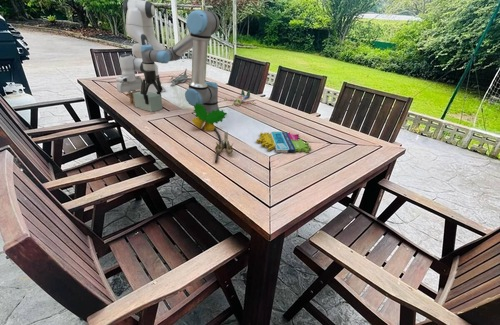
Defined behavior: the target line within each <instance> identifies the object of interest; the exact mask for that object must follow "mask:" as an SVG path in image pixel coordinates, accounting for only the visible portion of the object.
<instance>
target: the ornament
mask: <svg viewBox="0 0 500 325" xmlns="http://www.w3.org/2000/svg"><path fill="white" fill-rule="evenodd" d="M219 110H220V108H219V109H217V110H216V111H214V110H212V112H211V113H208V112H206V109H204V106H201V104H198V103H197V102H196V106H193V112H194V113H195V118H192V119H191V122H192V123H193V125H195V127H197V128H198V129H202V130H203V131H206V132H212V131H213V132H214V131H215V130H214V128H215V129H216V126H215V124H218V123H219V122H223V119H226V115H227V114H228V113H227V112H224V110H223V109H221V110H220V111H219ZM207 113H208V115H207ZM214 123H215V124H214Z"/></svg>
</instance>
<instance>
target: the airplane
mask: <svg viewBox="0 0 500 325" xmlns="http://www.w3.org/2000/svg"><path fill="white" fill-rule="evenodd" d="M169 77H170V80H173V79H174V80H173V81H172V82H171V83H170V87H171V86H172V87H173V86H175V85H177V84H180V83H181V84H183V83H185V82H186V81H188V82H191V80H192V77H191V75H188V74H187V68H185V70H184V72H183V74H179V76H175V75H174V76H173V75H168V78H169Z"/></svg>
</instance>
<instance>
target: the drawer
mask: <svg viewBox="0 0 500 325" xmlns="http://www.w3.org/2000/svg"><path fill="white" fill-rule="evenodd" d="M136 92H141V90H135V92H132V91H131V92H130V93H129V94H128V93H126V94H125V95H126V96H129V100H130V105H135V101H134V94H133V93H136Z"/></svg>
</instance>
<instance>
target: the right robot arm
mask: <svg viewBox="0 0 500 325" xmlns="http://www.w3.org/2000/svg"><path fill="white" fill-rule="evenodd" d="M220 24H221V22H220V19H219V17H218V15H217V14H216V12H213V11H211V10H201V9H197V10H193V11H191V12H190V13H189V14H188V15H187V16H186V28H187V29H188V31H189V33H188V34H187V35H185V36H184V37H183V38H181V39H179V41H178V42H176V43H175V44H174V45H173V46H172V47H171V48H167V49H166V48H165V50H154V49H153V46H151V45H142V46H141V54H142V61H143V69H144V73H143V76H145V77H144V79H143V78H141V89H140V92H141V93H140V94H142V95H143V96H144V100H145V104H149V102H148V95H147V92H148V89H149V86H150V85H151V84H153V85H154V86H155V88H156V90H157V91H158V92H157V93H156V94H159V95H161V96H162V93H163V92H162V90H163V89H164V88H163V89H162V87H163V85H162V86H161V83H162V82H161V83H160V81H161V80H160V79H161V78H160V76H159V77H155V76H156V72H155V64H156V63H158V64H168V63H169V62H174V61H179V60H180V59H181V58H182V56H183V55H184V54H186V53H187V52H188V51H190V50H191V49H192V51H191V52H192V53H191V54H192V56H191V78H192V79H191V80H190V81H188V88H187V89H186V90H185V92H184V98H185V100H186V102H187V103H188V104H189V105H190V106H192V107H194V106H196V102H197V103H198V104H201V106H204V109H206V112H208V113H211V112H212V110H214V111H216V110H217V109H219V111H221V110H220V108H219V102H218V99H219V98H218V97H219V87H218V83H217V82H216V81H215V82H214V81H208V80H206V79H207V77H206V76H207V62H208V46H209V45H208V44H209V41H210V40H211V39H212V36H213V35H214V34H216V32H218V31H219V28H220ZM155 80H156V81H155ZM145 81H146V83H145ZM156 82H157V83H156ZM208 113H207V115H208ZM213 131H214V132H215V133H216V135H217V136H218V137H217V138H218V140H219V142H218V145H220V144H221V141H222V138H221V135H220V133H219V132H218V130H217V129H216V127H215V128H214V130H213ZM218 154H219V155H220V153H217V154H215V159H214V163H215V164H218V159H219V155H218Z"/></svg>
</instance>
